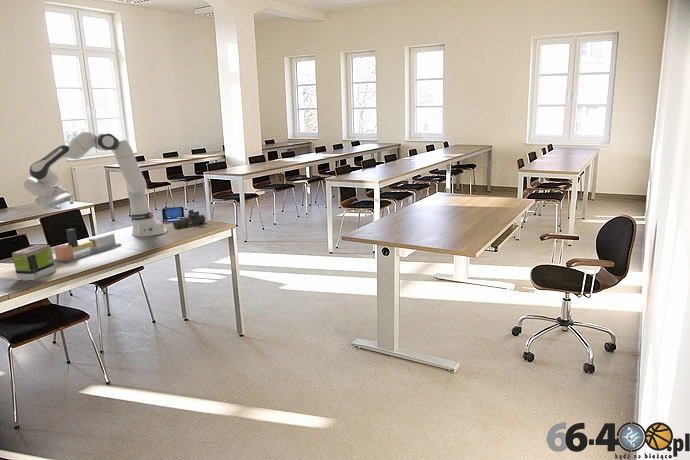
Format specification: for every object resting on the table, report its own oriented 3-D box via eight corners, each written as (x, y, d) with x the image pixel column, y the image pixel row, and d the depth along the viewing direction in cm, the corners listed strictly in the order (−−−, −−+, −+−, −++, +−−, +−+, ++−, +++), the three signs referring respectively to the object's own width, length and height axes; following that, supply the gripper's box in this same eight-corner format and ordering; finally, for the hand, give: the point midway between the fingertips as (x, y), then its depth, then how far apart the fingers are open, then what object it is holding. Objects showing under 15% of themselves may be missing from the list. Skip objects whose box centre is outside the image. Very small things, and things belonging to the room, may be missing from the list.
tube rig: (107, 244, 328) (105, 231, 326) (121, 245, 323) (119, 232, 321) (52, 261, 295) (49, 247, 293) (66, 263, 290) (64, 248, 288)
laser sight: (172, 227, 366) (170, 213, 364) (201, 221, 380) (200, 208, 378) (178, 229, 359) (176, 215, 357) (208, 223, 373) (206, 210, 371)
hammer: (96, 243, 317) (93, 222, 314) (101, 243, 315) (98, 222, 312) (59, 254, 295) (55, 232, 292) (64, 255, 293) (60, 232, 290)
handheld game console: (162, 224, 380) (160, 211, 378) (163, 220, 393) (161, 208, 391) (184, 221, 384) (183, 209, 382) (184, 218, 397) (183, 206, 395)
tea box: (41, 270, 278) (36, 244, 275) (56, 271, 275) (51, 244, 272) (16, 280, 264) (11, 252, 261) (32, 281, 261) (26, 252, 258)
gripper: (33, 196, 299) (51, 207, 296) (62, 185, 316) (80, 195, 314) (32, 205, 302) (51, 216, 300) (61, 194, 319) (79, 204, 317)
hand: (66, 205), depth 307 cm, fingers open, 8 cm apart
